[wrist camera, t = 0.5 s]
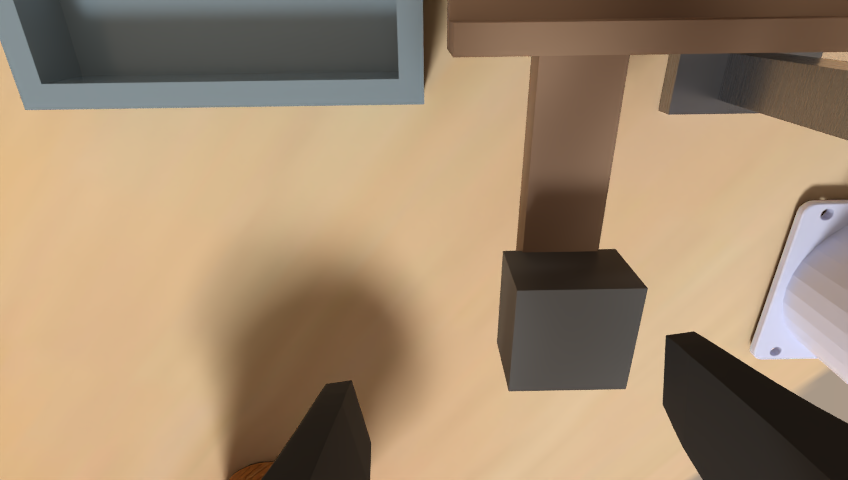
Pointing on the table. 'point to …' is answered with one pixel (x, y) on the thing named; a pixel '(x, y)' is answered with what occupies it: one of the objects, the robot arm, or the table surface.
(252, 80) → the tray
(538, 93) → the chute
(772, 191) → the table surface
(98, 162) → the table surface
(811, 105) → the chute stand
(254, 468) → the disposable coffee cup
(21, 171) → the table surface
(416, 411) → the table surface
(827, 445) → the robot arm
